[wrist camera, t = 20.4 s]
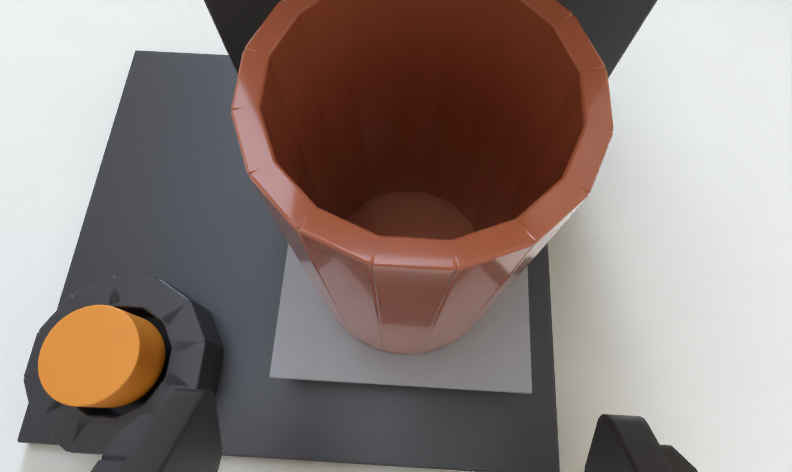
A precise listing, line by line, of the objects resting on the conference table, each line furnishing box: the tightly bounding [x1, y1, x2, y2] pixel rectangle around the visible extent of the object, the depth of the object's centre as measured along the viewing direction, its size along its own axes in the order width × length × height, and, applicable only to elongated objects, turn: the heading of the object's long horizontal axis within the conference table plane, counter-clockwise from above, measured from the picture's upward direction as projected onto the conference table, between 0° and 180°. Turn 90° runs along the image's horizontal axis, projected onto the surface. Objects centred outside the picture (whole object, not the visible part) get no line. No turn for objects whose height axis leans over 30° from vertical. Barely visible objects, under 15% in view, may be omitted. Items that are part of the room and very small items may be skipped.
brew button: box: [38, 305, 165, 408], centre depth 17 cm, size 3×3×2 cm
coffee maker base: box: [18, 51, 560, 472], centre depth 20 cm, size 18×20×3 cm
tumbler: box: [231, 0, 613, 354], centre depth 13 cm, size 6×6×10 cm
